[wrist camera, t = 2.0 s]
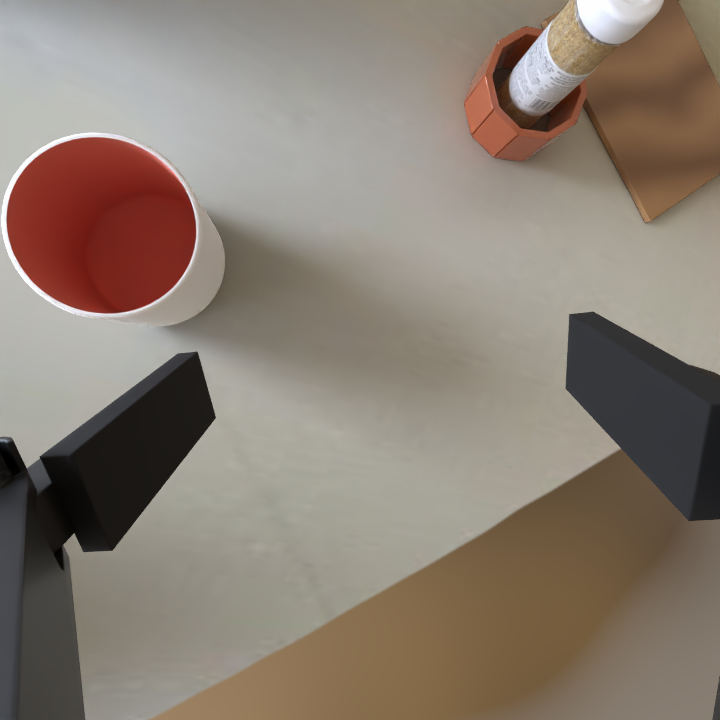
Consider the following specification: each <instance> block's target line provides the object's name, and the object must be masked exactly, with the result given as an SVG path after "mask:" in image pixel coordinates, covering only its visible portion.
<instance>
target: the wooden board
mask: <svg viewBox="0 0 720 720" xmlns="http://www.w3.org/2000/svg"><path fill="white" fill-rule="evenodd" d="M561 11H562V10H561ZM561 11H559V12H558V13H556V14H554V15H553V16H551V17H549V18H547V19H546V20H545V21H544V22H543V23H542V27H543V29H544V30H545V29H546V27H547V26H548V25H549V24H550V22H551V21H552V20H553V19H554V18H556V16H557V15H558V14H559V13H560V12H561ZM585 81H586V86H587V96H586V98H585V101H584V104H583V105H584V107H585V109H586V111H587V113H588V114H589V116H590V118H591V120H592V122H593V124H594V126H595V128H596V130H597V132H598V134H599V135H600V137H601V139H602V141H603V143H604V145H605V147H606V149H607V151H608V153H609V155H610V156H611V158H612V160H613V162H614V164H615V166H616V168H617V170H618V172H619V174H620V175H621V177H622V179H623V181H624V183H625V185H626V187H627V189H628V191H629V193H630V195H631V196H632V198H633V200H634V202H635V204H636V206H637V208H638V210H639V212H640V214H641V216H642V217H643V219H644V221H645V223H647V222H650V221H652V220H653V219H655V218H656V217H657V216H659V215H660V214H662V213H663V212H665V211H666V210H668V209H669V208H671V207H672V206H674V205H675V204H676V203H678V202H679V201H681V200H682V199H684V198H685V197H687V196H688V195H690V194H691V193H693V192H694V191H695V190H697V189H698V188H700V187H701V186H703V185H704V184H706V183H707V182H709V181H710V180H712V179H713V178H714V177H716V176H717V175H719V174H720V87H719V85H718V83H717V81H716V78H715V76H714V74H713V72H712V70H711V68H710V66H709V64H708V62H707V60H706V58H705V56H704V53H703V51H702V49H701V47H700V45H699V43H698V41H697V39H696V37H695V35H694V33H693V31H692V28H691V26H690V24H689V22H688V20H687V18H686V16H685V14H684V12H683V10H682V8H681V6H680V3H679V1H678V0H664V2H663V5H662V7H661V9H660V10H659V12H658V13H657V14H656V16H655V17H654V18H653V19H652V20H651V21H650V22H649V23H648V24H647V25H645V26H644V27H643V28H642V29H641V30H640V31H639V32H638V33H637V34H636V35H635V36H633V37H632V38H631V39H629V40H628V41H626V42H625V43H623V44H621V45H620V46H618V47H617V48H616V49H615V50H614V51H613V52H612V53H611V54H610V55H609V56H607V57H606V58H605V59H604V60H603V61H602V62H601V63H600V64H599V65H598V67H597V68H596V69H595V70H594V71H593V72H592V73H591V74H590V75H589V76H588V77H587V78H585Z"/></svg>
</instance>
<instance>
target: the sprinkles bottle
mask: <svg viewBox="0 0 720 720" xmlns="http://www.w3.org/2000/svg"><path fill="white" fill-rule="evenodd" d="M663 2H664V0H570V1H569V2H568V4H567V5H566V6H565V7H564V8H563V9H562V11H561V12H560V13H559V14H558V15H557V16H556V18H554V19H553V20H552V21H551V22H550V24H549V25H548V26H547V27H546V29H545V30H544V31H543V32H542V34H541V35H540V36H539V37H538V39H537V40H536V41H535V42H534V44H533V45H532V46H531V48H530V49H529V50H528V51H527V52H526V54H525V55H524V56H523V57H522V59H521V60H520V61H519V62H518V64H517V65H516V66H515V68H514V69H513V71H512V73H511V74H510V75H509V76H508V78H507V79H506V80H505V81H504V83H503V84H502V85H500V86H499V87H498V88H497V89H496V90H495V91H496V95H497V99H498V104H499V107H500V108H501V109H502V110H503V111H504V112H505V113H506V114H507V115H508V116H509V117H510V118H511V119H512V120H513V121H514V122H515V123H516V124H517V125H518V126H519V127H520V128H523V129H531V128H532V127H533V126H534V124H535V122H536V121H538V120H539V119H540V118H541V117H542V116H543V115H544V114H545V113H547V112H549V111H550V110H551V109H552V108H554V107H555V106H556V105H557V104H558V103H559V102H560V101H561V100H562V99H564V98H565V97H566V96H567V95H568V94H569V93H570V92H571V91H572V90H573V89H575V88H576V87H577V86H578V85H579V84H580V83H581V82H582V81H583V80H584V79H585V78H587V77H588V76H589V75H590V74H591V73H592V72H593V71H594V70H595V69H596V68H597V67H598V65H599V64H600V63H601V62H602V61H603V60H604V59H605V58H606V57H607V56H609V55H610V54H611V53H612V52H613V51H614V50H615V49H616V48H617V47H618V46H620V45H621V44H623V43H625V42H626V41H628V40H629V39H631V38H632V37H633V36H635V35H636V34H637V33H638V32H639V31H640V30H641V29H642V28H643V27H644V26H645V25H647V24H648V23H649V22H650V21H651V20H652V19H653V18H654V17H655V16H656V14H657V13H658V12H659V10H660V9H661V7H662V5H663Z"/></svg>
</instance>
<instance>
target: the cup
mask: <svg viewBox="0 0 720 720" xmlns="http://www.w3.org/2000/svg"><path fill="white" fill-rule="evenodd" d="M2 230H3V237H4V241H5V245H6V248H7V251H8V254H9V256H10V258H11V260H12V262H13V264H14V266H15V268H16V269H17V271H18V272H19V274H20V275H21V276H22V278H23V279H24V280H25V281H26V282H27V283H28V285H29V286H30V287H31V288H32V289H33V290H35V291H36V292H37V293H38V294H39V295H40V296H42V297H43V298H45V299H46V300H47V301H49V302H50V303H52V304H54V305H56V306H57V307H59V308H61V309H64V310H66V311H68V312H71V313H74V314H77V315H80V316H84V317H89V318H95V319H102V320H109V321H116V322H123V323H130V324H137V325H144V326H168V325H173V324H177V323H180V322H183V321H186V320H188V319H190V318H192V317H194V316H195V315H197V314H198V313H200V312H201V311H202V310H203V309H204V308H206V307H207V305H208V304H209V303H210V302H211V301H212V300H213V298H214V297H215V295H216V294H217V292H218V290H219V288H220V286H221V283H222V280H223V276H224V271H225V253H224V247H223V244H222V240H221V238H220V235H219V233H218V231H217V229H216V227H215V226H214V224H213V222H212V221H211V219H210V218H209V216H208V214H207V213H206V211H205V209H204V208H203V206H202V205H201V203H200V201H199V200H198V198H197V197H196V195H195V193H194V192H193V190H192V189H191V187H190V185H189V184H188V182H187V181H186V179H185V178H184V176H183V175H182V174H181V173H180V171H179V170H178V169H177V168H176V167H175V166H174V165H173V164H172V163H171V162H170V161H169V160H168V159H166V158H165V157H164V156H163V155H161V154H160V153H159V152H157V151H155V150H154V149H152V148H151V147H149V146H147V145H145V144H143V143H141V142H138V141H136V140H133V139H131V138H127V137H123V136H120V135H114V134H108V133H83V134H77V135H71V136H68V137H65V138H61V139H59V140H56V141H54V142H52V143H50V144H48V145H46V146H44V147H42V148H41V149H39V150H38V151H37V152H35V153H34V154H33V155H32V156H30V157H29V158H28V159H27V160H26V161H25V162H24V163H23V165H22V166H21V167H20V168H19V169H18V171H17V172H16V174H15V175H14V177H13V179H12V181H11V183H10V185H9V187H8V189H7V192H6V195H5V199H4V203H3V209H2Z"/></svg>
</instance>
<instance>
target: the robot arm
mask: <svg viewBox="0 0 720 720" xmlns="http://www.w3.org/2000/svg"><path fill="white" fill-rule="evenodd" d="M566 389H567V391H568V392H569V393H570V394H571V395H572V396H573V397H574V398H575V399H576V400H577V401H578V402H579V403H580V405H581V406H582V407H583V408H584V409H585V410H586V411H587V412H588V413H589V414H590V415H591V416H592V417H593V419H594V420H595V421H596V422H597V423H598V424H599V425H600V426H601V427H602V428H603V429H604V430H605V431H606V432H607V434H608V435H609V436H610V437H611V438H612V439H613V440H614V441H615V442H616V443H617V444H618V445H619V446H620V448H621V449H622V450H623V451H624V452H625V453H626V454H627V455H628V456H629V457H630V458H631V459H632V460H633V462H634V463H635V464H636V465H637V466H638V467H639V468H640V469H641V470H642V471H643V472H644V473H645V474H646V475H647V476H648V477H649V479H650V480H651V481H652V482H653V483H654V484H655V485H656V486H657V487H658V488H659V489H660V490H661V492H662V493H663V494H664V495H665V496H666V497H667V498H668V499H669V500H670V501H671V502H672V503H673V505H675V507H676V508H677V509H678V510H679V511H680V512H681V513H682V514H683V515H684V516H685V517H686V519H687V520H689V521H695V520H715V519H720V375H718V374H716V373H714V372H711V371H708V370H705V369H702V368H698V367H695V366H692V365H688V364H686V363H684V362H682V361H681V360H679V359H677V358H675V357H674V356H672V355H670V354H668V353H666V352H665V351H663V350H661V349H659V348H657V347H656V346H654V345H652V344H650V343H648V342H647V341H645V340H643V339H641V338H639V337H638V336H636V335H634V334H632V333H630V332H629V331H627V330H625V329H623V328H621V327H620V326H618V325H616V324H614V323H612V322H611V321H609V320H607V319H605V318H604V317H602V316H600V315H598V314H596V313H595V312H587V313H577V314H569V334H568V353H567V372H566ZM215 418H216V416H215V413H214V409H213V406H212V402H211V398H210V395H209V391H208V388H207V384H206V380H205V377H204V373H203V370H202V366H201V362H200V359H199V355H198V352H190V353H180V354H177V355H175V356H174V357H173V358H171V359H170V360H169V361H167V362H166V363H165V364H163V365H162V366H161V367H159V368H158V369H157V370H155V371H154V372H153V373H151V374H150V375H149V376H147V377H146V378H145V379H143V380H142V381H141V382H139V383H138V384H137V385H135V386H134V387H133V388H131V389H130V390H129V391H127V392H126V393H124V394H123V395H122V396H120V397H119V398H118V399H116V400H115V401H114V402H112V403H111V404H110V405H108V406H107V407H106V408H104V409H103V410H102V411H100V412H99V413H98V414H96V415H95V416H94V417H92V418H91V419H90V420H88V421H87V422H86V423H84V424H83V425H82V426H80V427H79V428H78V429H76V430H75V431H73V432H72V433H71V434H69V435H68V436H67V437H65V438H64V439H63V440H61V441H60V442H59V443H57V444H56V445H55V446H53V447H52V448H51V449H49V450H48V451H47V452H45V453H44V454H43V455H41V456H40V459H39V460H38V461H36V462H35V463H34V464H32V465H31V466H30V467H28V468H26V466H25V464H24V462H23V460H22V458H21V456H20V454H19V452H18V450H17V447H16V445H15V443H14V441H13V440H12V438H10V437H0V720H85V713H84V703H83V693H82V683H81V673H80V663H79V653H78V643H77V633H76V623H75V613H74V603H73V593H72V583H71V573H70V563H69V556H68V554H67V552H66V550H65V548H64V546H63V544H64V543H65V542H66V541H67V540H68V539H69V538H70V537H71V536H72V535H73V534H74V533H75V535H76V537H77V539H78V542H79V544H80V546H81V548H82V550H83V552H94V551H112V550H113V549H114V548H115V547H116V545H117V544H118V543H119V541H120V540H121V539H122V538H123V536H124V535H125V534H126V532H127V531H128V530H129V529H130V527H131V526H132V525H133V523H134V522H135V521H136V520H137V518H138V517H139V516H140V515H141V513H142V512H143V511H144V509H145V508H146V507H147V506H148V504H149V503H150V502H151V500H152V499H153V498H154V497H155V495H156V494H157V493H158V491H159V490H160V489H161V488H162V486H163V485H164V484H165V482H166V481H167V480H168V479H169V477H170V476H171V475H172V473H173V472H174V471H175V470H176V468H177V467H178V466H179V464H180V463H181V462H182V461H183V459H184V458H185V457H186V456H187V454H188V453H189V452H190V450H191V449H192V448H193V447H194V445H195V444H196V443H197V441H198V440H199V439H200V438H201V436H202V435H203V434H204V432H205V431H206V430H207V429H208V427H209V426H210V425H211V423H212V422H213V421H214V420H215ZM713 720H720V678H719V684H718V690H717V696H716V702H715V708H714V714H713Z"/></svg>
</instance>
